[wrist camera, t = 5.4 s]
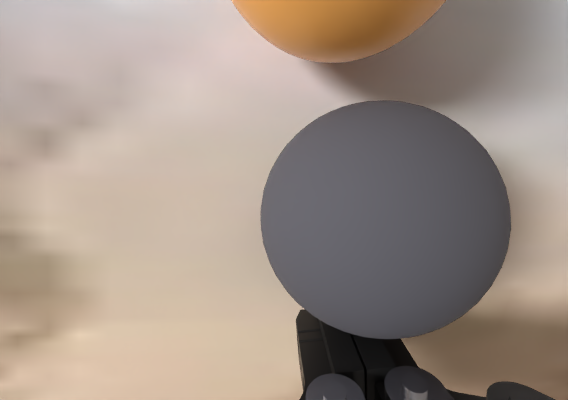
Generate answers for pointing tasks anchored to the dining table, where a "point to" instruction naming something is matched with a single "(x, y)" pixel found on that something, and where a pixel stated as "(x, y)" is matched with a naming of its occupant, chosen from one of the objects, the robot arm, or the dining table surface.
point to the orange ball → (336, 25)
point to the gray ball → (385, 219)
